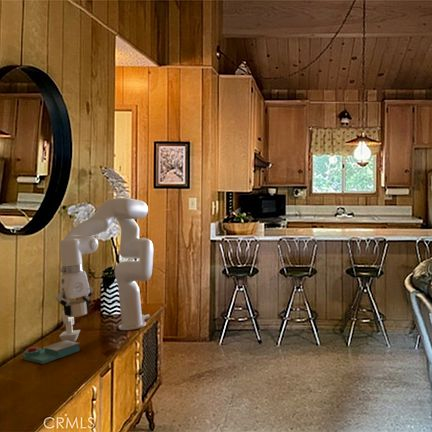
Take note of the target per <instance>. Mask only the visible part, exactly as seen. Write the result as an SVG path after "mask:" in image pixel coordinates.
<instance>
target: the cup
mask: <svg viewBox="0 0 432 432" xmlns="http://www.w3.org/2000/svg"><path fill="white" fill-rule="evenodd" d="M69 306H70V307H71V316H68V317H74V318H77V317H82V316H85V315H88V310H87V304H86V300H83V299H79V300H71V301H70V303H69Z"/></svg>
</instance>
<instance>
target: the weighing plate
mask: <svg viewBox="0 0 432 432" xmlns="http://www.w3.org/2000/svg"><path fill="white" fill-rule="evenodd" d="M79 345H80V342H77V341H75V342H73V341H68V340H64V341H62V340H61V341H58V342H55V343H52V344H49V345H45V346H43V347H42V349H44V350H45V352H46V353H50V354H54V355H58V359H61V358H63V357H67V356H69V355H72V354H75V353H77V352H80V347H79Z"/></svg>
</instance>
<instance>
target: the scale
mask: <svg viewBox="0 0 432 432" xmlns="http://www.w3.org/2000/svg"><path fill="white" fill-rule="evenodd" d="M22 359H23V360H24V361H28V362H33V363H37V364H41V365H43V364H46V363H50V362H52V361H55V360H57V359H59V358H58V355H54V354H50V353H46V352H45V350H44V349H43V348H41V347H37V351H34V352H29V351H28V349H26V350H25V351H24V353H23V355H22Z"/></svg>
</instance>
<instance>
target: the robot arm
mask: <svg viewBox="0 0 432 432" xmlns="http://www.w3.org/2000/svg"><path fill="white" fill-rule="evenodd" d="M148 212H149V208H148V205H147V203H146V202H145V201H143V200H141V199H135V198H130V197H114V198H108V199H105V200H104V201H103V202H102V203H101V205H99V207H98V208H97V209H96V210H95V212H94V213H93V214H92V215H91V217H89V218H87V219H86V220H83V221H82V222H80V223H79V224H77V225H75V226H73V227H72V229H70V230H69V232H68V233H67V234H66V235H65V237H64V238H63V239H62V240H60V242H59V250H60V251H59V253H60V260H61V268H60V269H59V272H60V273H62V274H61V275H60V276H61V277H60V292H59V293H58V294H57V296H55V300H56V301H57V302H58V303H59V304H60V305H61V306H63V312H64V313H65V315H67V316H71V307H70V306H69V303H70V302H71V301H72V300H75V299H78V298H81V299H82V300H86V304H87V311H89V310H90V303H89V302H90V298H91V297H92V294H93V293H94V289H95V288H93V287H92V286H90V284H89V283H90V282H89V280H88V275H87V273H86V270H84V265H83V257H82V255H89V254H93V253H95V252H96V251H97V250H98V248H99V241H98V239H97V238H96V237H94V236H96V235H99V234H102V233H104V232H106V231H107V230H108V229H109V228H110V227H111V225H112V224H113V223H114V221H115V219H116V221H117V223H118V224H119V227H120V242H119V254H120V257H122V258H124V259H139V260H125V261H121V262H118V263H117V264H116V265H115V267H114V277H115V280H116V283H117V289H118V300H119V310H120V321H121V322H120V323H121V324H119V325H118V330H120V331H133V330H138V329H141V328H143V327H145V326H146V325H147V322H146V321H145V320H147V319H150V318H151V315H150V314H149V313H148V314H145V315H144V314H143V313H142V301H141V292H140V291H141V290H140V287H139V285H138V283H137V282H146V281H149V280H150V279H151V277H152V275H153V266H154V251H155V250H154V249H155V248H154V244H153V242H152V240H150V239H149V238H146V237H140V227H139V225H138V223H137V222H136V220H142V219H144V218H145V217H147V215H148Z"/></svg>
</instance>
